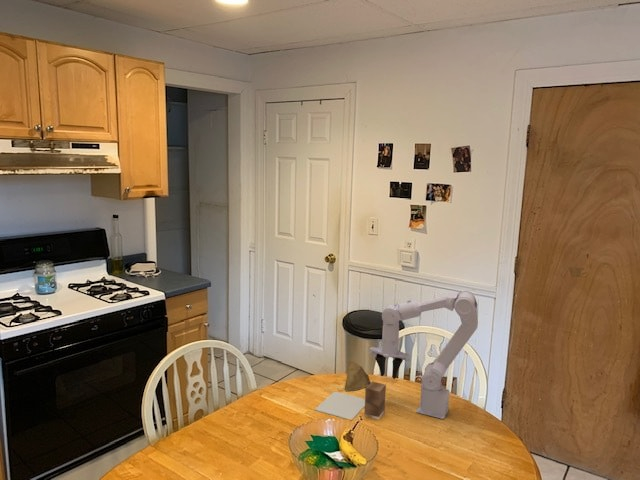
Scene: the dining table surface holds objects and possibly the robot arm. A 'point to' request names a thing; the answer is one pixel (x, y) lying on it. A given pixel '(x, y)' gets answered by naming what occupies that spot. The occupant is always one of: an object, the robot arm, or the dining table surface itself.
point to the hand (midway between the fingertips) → (388, 376)
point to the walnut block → (375, 400)
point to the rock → (356, 377)
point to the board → (341, 405)
